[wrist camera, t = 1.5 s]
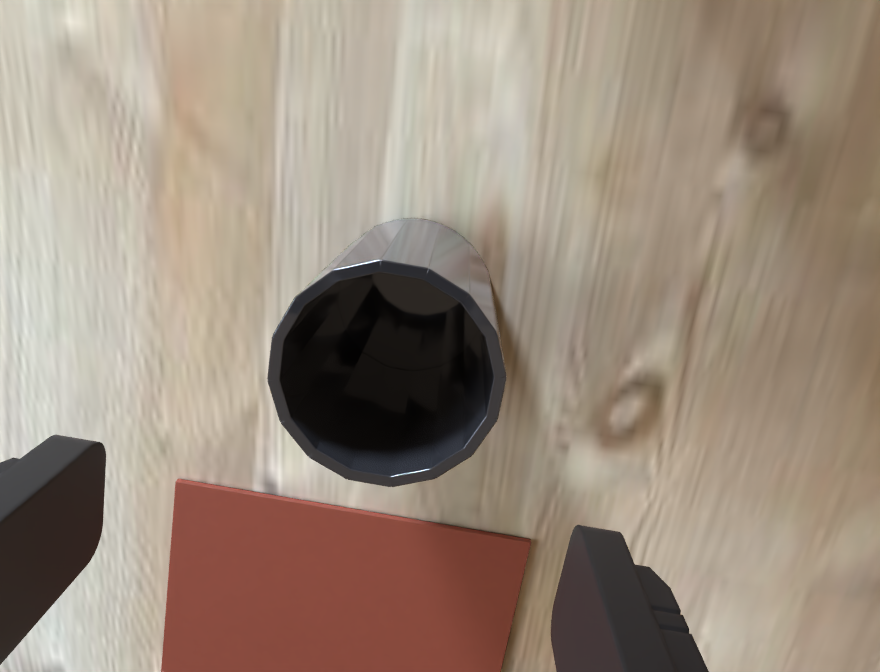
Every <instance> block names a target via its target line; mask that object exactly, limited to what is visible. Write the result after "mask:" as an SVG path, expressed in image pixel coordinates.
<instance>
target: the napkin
mask: <svg viewBox="0 0 880 672" xmlns="http://www.w3.org/2000/svg"><path fill="white" fill-rule="evenodd" d="M530 545H531V540H530V539H526V538H520V537H514V536H508V535H502V534H497V533H491V532H485V531H479V530H473V529H468V528H462V527H456V526H450V525H444V524H439V523H433V522H427V521H421V520H415V519H409V518H404V517H398V516H392V515H386V514H380V513H375V512H369V511H363V510H357V509H351V508H346V507H340V506H334V505H328V504H322V503H316V502H311V501H305V500H299V499H293V498H287V497H282V496H276V495H270V494H264V493H258V492H253V491H247V490H241V489H235V488H229V487H224V486H218V485H212V484H206V483H200V482H194V481H189V480H183V479H178V480H177V481H176V485H175V498H174V511H173V524H172V537H171V550H170V564H169V577H168V590H167V603H166V616H165V629H164V642H163V656H162V669H161V672H501V668H502V664H503V660H504V655H505V651H506V647H507V643H508V639H509V634H510V630H511V626H512V622H513V617H514V613H515V609H516V605H517V600H518V596H519V592H520V588H521V583H522V579H523V575H524V571H525V566H526V562H527V558H528V554H529V550H530Z"/></svg>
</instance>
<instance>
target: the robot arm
mask: <svg viewBox="0 0 880 672" xmlns="http://www.w3.org/2000/svg"><path fill="white" fill-rule="evenodd" d="M105 467H106V452H105V448H104V445H103V444H102V443H100V442H96V441H90V440H84V439H78V438H72V437H66V436H60V435H53V436H51V437H49V438H48V439H46V440H45V441H44V442H42V443H41V444H40V445H38V446H37V447H36V448H34V449H33V450H32V451H30V452H29V453H27V454H26V455H25V456H23V457H22V458H21V459H17V458H12V459H9V460H6V461H4V462H1V463H0V665H1V663H2V662H3V661H4V660H5V659H6V658H7V656H8V655H9V654H10V653H11V652H12V651H13V650H14V648H15V647H16V646H17V645H18V644H19V643H20V642H21V640H22V639H23V638H24V637H25V636H26V635H27V633H28V632H29V631H30V630H31V629H32V628H33V627H34V625H35V624H36V623H37V622H38V621H39V620H40V618H41V617H42V616H43V615H44V614H45V613H46V612H47V610H48V609H49V608H50V607H51V606H52V605H53V604H54V602H55V601H56V600H57V599H58V598H59V597H60V595H61V594H62V593H63V592H64V591H65V590H66V589H67V587H68V586H69V585H70V584H71V583H72V582H73V581H74V579H75V578H76V577H77V576H78V575H79V574H80V572H81V571H82V570H83V569H84V568H85V567H86V566H87V564H88V563H89V562H90V560H91V559H92V557H93V555H94V553H95V551H96V549H97V546H98V543H99V540H100V537H101V533H102V526H103V508H104V488H105ZM680 612H681V610H680V608H679V606H678V604H677V602H676V599H675V597H674V595H673V593H672V591H671V588H670V587H669V586H668V585H667V584H666V583H665V582H664V581H663V580H662V579H661V578H660V577H659V576H658V575H657V574H656V573H655V572H654V571H653V570H652V569H651V568H650V567H646V566H640V565H635V564H634V562H633V559H632V557H631V554H630V552H629V549H628V547H627V545H626V542H625V540H624V537H623V535H622V534H621V533H620V532H616V531H611V530H605V529H599V528H593V527H587V526H581V525H577V526H575V528H574V530H573V532H572V535H571V538H570V542H569V545H568V549H567V553H566V557H565V561H564V565H563V569H562V573H561V577H560V581H559V585H558V589H557V593H556V597H555V601H554V605H553V611H552V620H551V641H552V648H553V653H554V659H555V665H556V670H557V672H709V671H708V669H707V667H706V665H705V663H704V660H703V658H702V656H701V654H700V652H699V650H698V647H697V645H696V643H695V641H694V639H693V636H692V634H689V628H688V626H687V623H686V621H685V619H684V617H683V615H680Z"/></svg>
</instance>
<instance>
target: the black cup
mask: <svg viewBox="0 0 880 672" xmlns="http://www.w3.org/2000/svg"><path fill="white" fill-rule="evenodd" d="M267 379H268V384H269V387H270V390H271V394H272V397H273V400H274V403H275V407H276V410H277V413H278V417H279V420H280V422H281V424H282V425H283V426H284V428H285V429H286V430H287V431H288V432H289V434H290V435H291V436H292V437H293V439H294V440H295V441H296V442H297V444H298V445H299V446H300V447H301V448H302V450H303V451H304V452H305V453H306V455H307V456H309V458H311V459H313V460H314V461H316V462H318V463H320V464H321V465H323V466H325V467H326V468H328V469H330V470H332V471H333V472H335V473H337V474H339V475H340V476H342V477H344V478H345V479H348V480H353V481H359V482H364V483H370V484H376V485H382V486H388V487H391V486H392V487H395V486H400V485H405V484H411V483H416V482H421V481H427V480H432V479H435V478H437V477H439V476H440V475H442V474H444V473H445V472H447V471H448V470H450V469H452V468H453V467H455V466H456V465H458V464H460V463H461V462H463V461H464V460H466V459H468V458H469V457H471V456H472V455H473V454H474V453H475V451H476V450H477V448H478V447H479V446H480V444H481V443H482V441H483V440H484V439H485V437H486V436H487V434H488V433H489V432H490V430H491V429H492V427H493V426H494V425H495V423H496V422H497V419H498V416H499V411H500V407H501V402H502V397H503V392H504V388H505V383H506V369H505V363H504V357H503V351H502V345H501V339H500V333H499V327H498V321H497V314H496V308H495V302H494V297H493V292H492V287H491V282H490V278H489V273H488V269H487V267H486V266H485V264H484V262H483V260H482V259H481V257H480V255H479V254H478V252H477V251H476V250H475V249H474V247H473V246H472V245H471V244H470V243H469V242H468V241H467V240H466V239H465V238H464V237H463V236H461V235H460V234H459V233H457V232H456V231H454V230H452V229H451V228H449V227H447V226H445V225H442V224H440V223H437V222H434V221H430V220H426V219H417V218H404V219H397V220H392V221H389V222H385V223H382V224H380V225H377V226H375V227H373V228H372V229H370V230H369V231H367V232H366V233H364V234H363V235H362V236H361V237H359V238H358V239H356V240H355V241H354V242H352V243H351V244H350V245H349V246H348V247H347V248H346V249H345V250H344V251H343V252H341V253H340V254H339V255H338V256H337V257H336V258H335V259H334V260H333V261H332V262H331V263H330V264H329V265H328V266H327V267H326V268H325V269H324V270H323V271H322V272H321V273H320V274H319V275H318V276H317V277H315V278H314V279H313V280H312V281H311V282H310V283H309V284H308V285H307V286H306V287H305V288H304V289H303V290H302V291H301V292H300V293H299V294H298V295H297V296H296V297H295V298H294V299H293V301H292V303H291V305H290V306H289V308H288V310H287V311H286V313H285V315H284V316H283V318H282V320H281V322H280V323H279V325H278V327H277V328H276V330H275V332H274V333H273V336H272V342H271V351H270V360H269V369H268V378H267Z"/></svg>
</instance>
